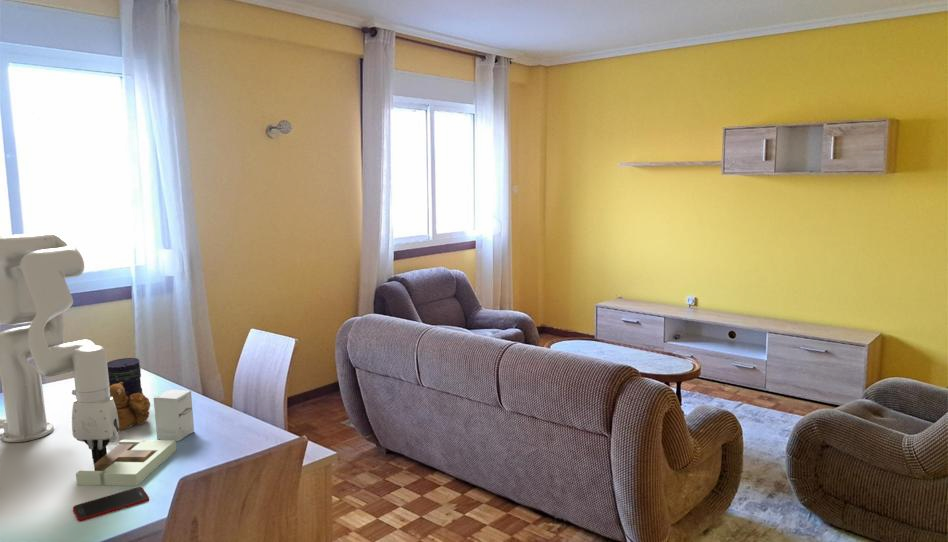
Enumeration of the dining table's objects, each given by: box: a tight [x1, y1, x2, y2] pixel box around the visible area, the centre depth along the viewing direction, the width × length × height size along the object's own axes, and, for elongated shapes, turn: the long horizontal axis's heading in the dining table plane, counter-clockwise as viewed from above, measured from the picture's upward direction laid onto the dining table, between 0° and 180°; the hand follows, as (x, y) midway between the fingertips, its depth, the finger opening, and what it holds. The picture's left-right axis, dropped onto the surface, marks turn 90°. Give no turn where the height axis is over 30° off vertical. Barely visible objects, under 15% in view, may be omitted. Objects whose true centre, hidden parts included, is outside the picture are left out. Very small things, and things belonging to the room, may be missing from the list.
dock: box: [75, 439, 177, 487], centre depth 175 cm, size 15×20×3 cm
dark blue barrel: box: [107, 357, 144, 398], centre depth 216 cm, size 10×10×15 cm
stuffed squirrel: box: [109, 382, 151, 432], centre depth 201 cm, size 10×14×13 cm
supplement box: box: [153, 389, 195, 442], centre depth 193 cm, size 7×7×13 cm
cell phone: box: [72, 486, 150, 522], centre depth 156 cm, size 8×15×1 cm, turn 130°
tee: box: [93, 443, 153, 471], centre depth 175 cm, size 11×12×4 cm
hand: (100, 461), depth 175 cm, fingers closed
